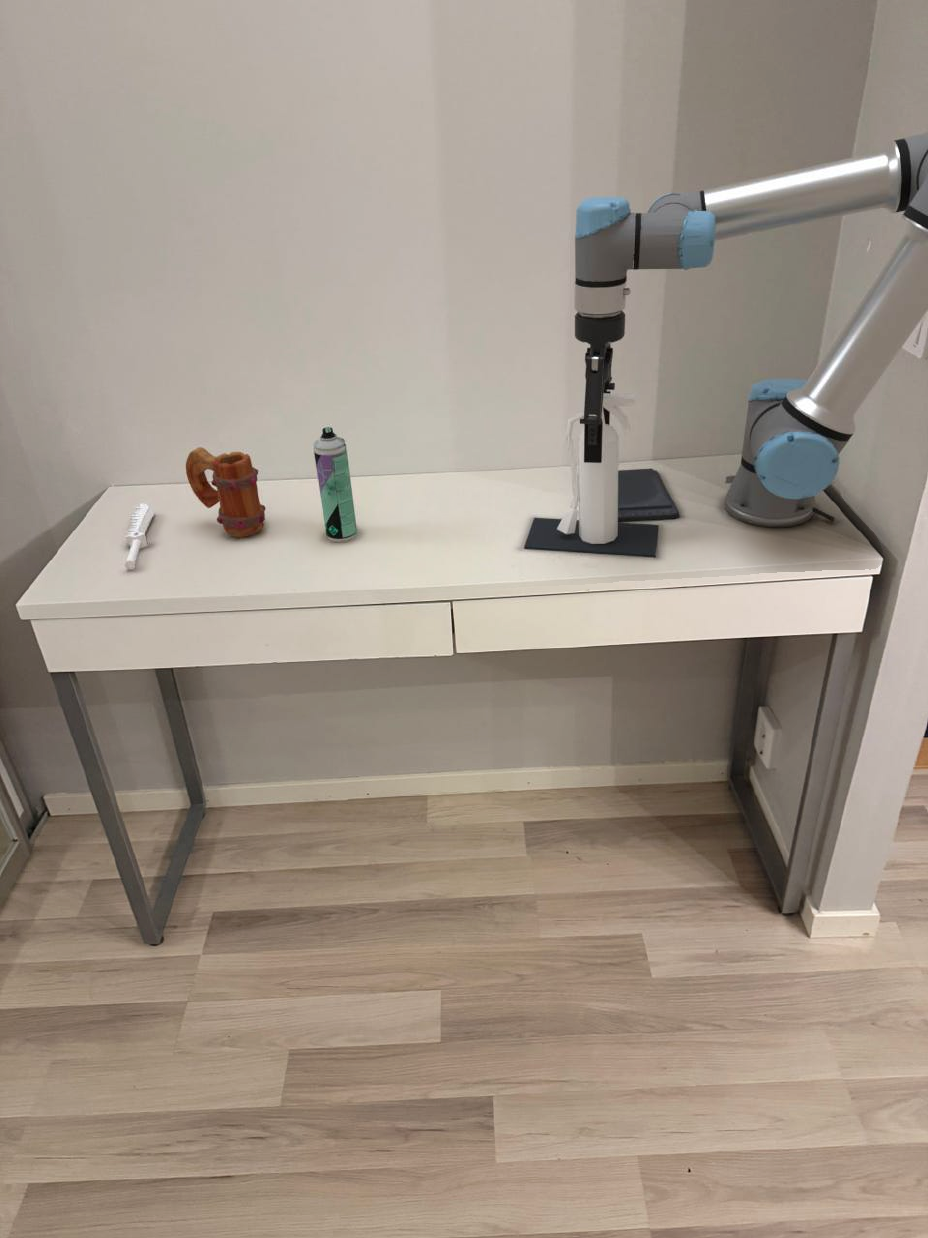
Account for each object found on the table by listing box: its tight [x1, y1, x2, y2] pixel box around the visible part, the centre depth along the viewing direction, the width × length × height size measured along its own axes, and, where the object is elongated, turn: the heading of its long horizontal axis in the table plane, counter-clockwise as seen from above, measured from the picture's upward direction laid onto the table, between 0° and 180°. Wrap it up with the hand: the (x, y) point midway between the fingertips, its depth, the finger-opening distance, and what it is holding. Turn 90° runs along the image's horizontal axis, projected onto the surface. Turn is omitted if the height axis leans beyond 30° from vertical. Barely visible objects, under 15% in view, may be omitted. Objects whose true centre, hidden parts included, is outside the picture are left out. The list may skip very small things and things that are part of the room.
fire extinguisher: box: [557, 393, 636, 544], centre depth 149 cm, size 7×12×25 cm, turn 84°
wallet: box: [618, 468, 681, 522], centre depth 168 cm, size 20×2×15 cm
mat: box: [523, 517, 660, 558], centre depth 156 cm, size 22×11×1 cm, turn 77°
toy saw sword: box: [124, 503, 155, 570], centre depth 162 cm, size 3×4×22 cm
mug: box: [185, 446, 266, 538], centre depth 161 cm, size 15×8×15 cm, turn 65°
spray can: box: [313, 426, 358, 543], centre depth 155 cm, size 6×6×20 cm
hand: (597, 445), depth 147 cm, fingers open, 13 cm apart
